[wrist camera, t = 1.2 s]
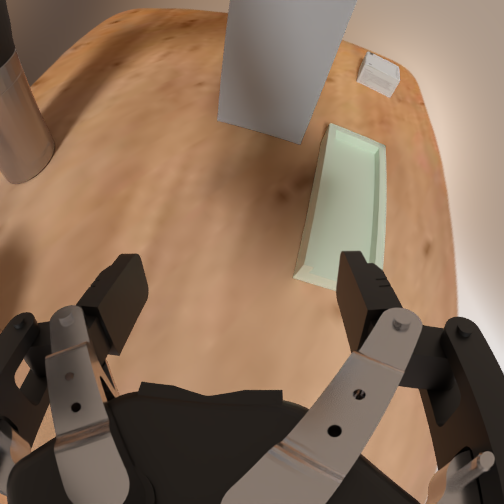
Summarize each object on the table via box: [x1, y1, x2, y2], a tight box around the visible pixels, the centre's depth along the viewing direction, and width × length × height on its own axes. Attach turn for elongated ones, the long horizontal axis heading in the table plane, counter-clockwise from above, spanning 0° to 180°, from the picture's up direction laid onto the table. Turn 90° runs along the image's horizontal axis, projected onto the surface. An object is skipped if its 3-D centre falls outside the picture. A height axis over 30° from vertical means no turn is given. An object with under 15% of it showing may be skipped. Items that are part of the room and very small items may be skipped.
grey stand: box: [217, 0, 357, 145], centre depth 27 cm, size 12×16×34 cm
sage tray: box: [293, 123, 386, 291], centre depth 34 cm, size 8×21×4 cm, turn 164°
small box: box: [357, 52, 400, 98], centre depth 48 cm, size 8×8×5 cm
